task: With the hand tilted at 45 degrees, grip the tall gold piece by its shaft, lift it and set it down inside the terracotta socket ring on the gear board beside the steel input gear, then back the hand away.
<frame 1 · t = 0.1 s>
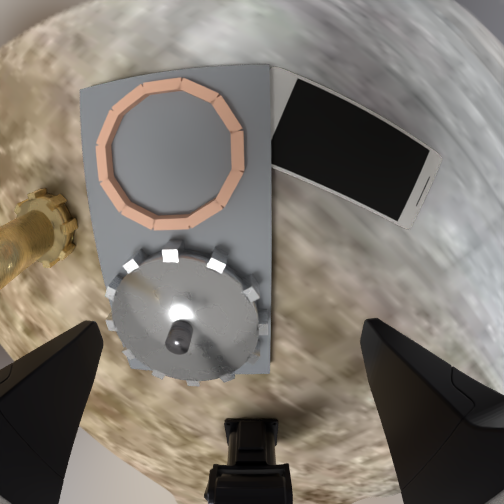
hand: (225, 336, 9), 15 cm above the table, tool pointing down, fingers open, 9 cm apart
gear board: (181, 241, 24), on the table
smartphone: (347, 149, 21), on the table
gold piece: (48, 225, 23), on the table
input gear: (186, 315, 25), resting on gear board
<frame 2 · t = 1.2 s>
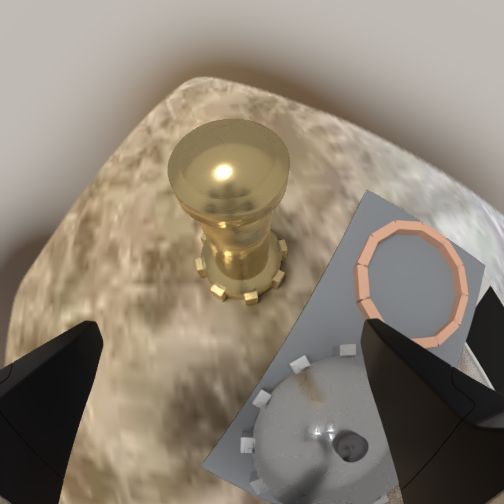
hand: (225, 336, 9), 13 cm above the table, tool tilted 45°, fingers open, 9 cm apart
gear board: (371, 365, 21), on the table
smartphone: (495, 350, 21), on the table
gold piece: (242, 262, 24), on the table
input gear: (337, 436, 18), resting on gear board
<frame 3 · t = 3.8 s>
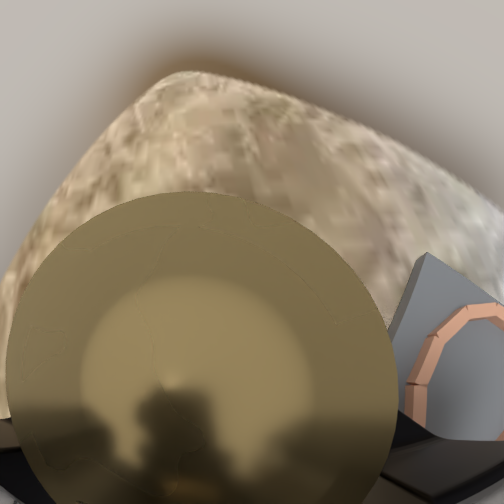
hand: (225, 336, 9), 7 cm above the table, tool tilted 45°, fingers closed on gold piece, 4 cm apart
gear board: (408, 491, 11), on the table
gold piece: (238, 374, 15), on the table, touching gripper
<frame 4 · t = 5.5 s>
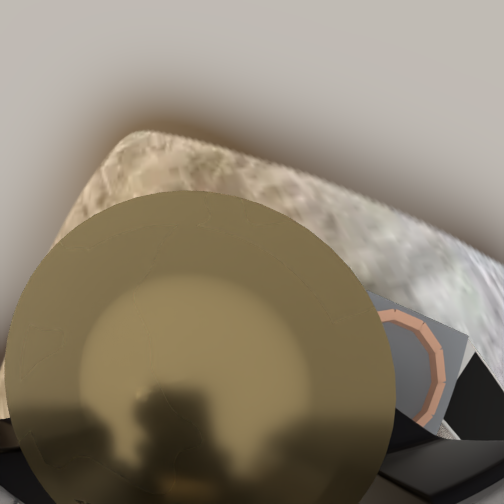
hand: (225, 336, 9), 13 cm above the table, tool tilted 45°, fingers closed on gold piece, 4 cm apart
gear board: (337, 459, 18), on the table
smartphone: (477, 414, 19), on the table
gold piece: (238, 374, 15), point 7 cm above the table, touching gripper
when the fingers open (10 cm above the table, at t = 7.3 s): gold piece drops 2 cm, resting on gear board.
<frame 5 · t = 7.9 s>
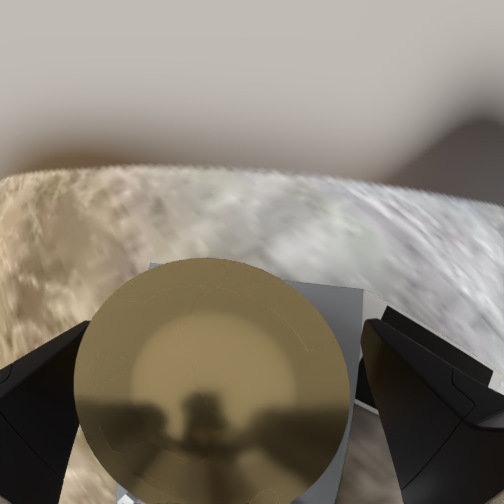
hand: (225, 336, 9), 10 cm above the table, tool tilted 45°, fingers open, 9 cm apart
gear board: (227, 470, 15), on the table
smartphone: (421, 382, 18), on the table
gold piece: (241, 376, 17), point 1 cm above the table, touching gear board
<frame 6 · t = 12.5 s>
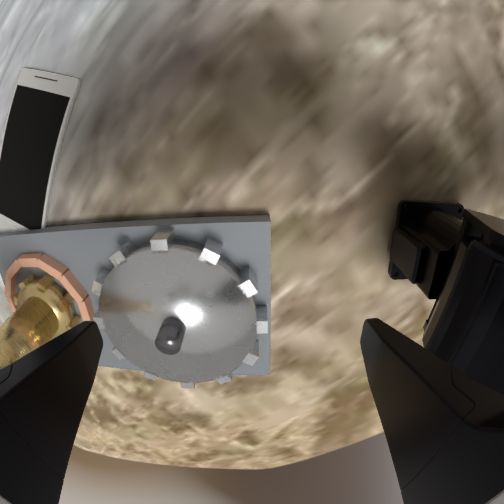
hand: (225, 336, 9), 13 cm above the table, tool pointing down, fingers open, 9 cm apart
gear board: (117, 300, 24), on the table
smartphone: (30, 160, 20), on the table
gold piece: (50, 305, 23), point 1 cm above the table, touching gear board
input gear: (179, 311, 23), resting on gear board
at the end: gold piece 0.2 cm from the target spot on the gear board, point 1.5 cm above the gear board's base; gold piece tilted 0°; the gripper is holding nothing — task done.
